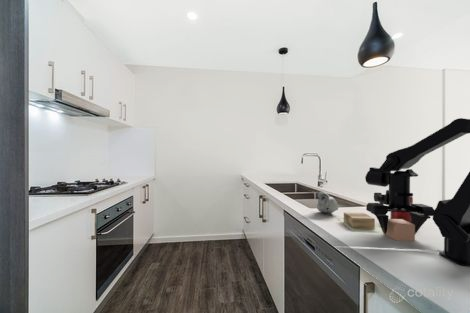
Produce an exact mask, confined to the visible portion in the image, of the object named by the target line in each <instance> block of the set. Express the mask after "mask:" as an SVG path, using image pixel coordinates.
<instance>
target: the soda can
mask: <svg viewBox="0 0 470 313" xmlns="http://www.w3.org/2000/svg"><path fill="white" fill-rule="evenodd" d="M413 199H414V198H413V196H410V205H411V204H414V200H413ZM393 209H394V208H393ZM389 215H390V218H389V219H403V220H405V221H407V222H410V223H411V216H410V214H409V212H391V211H390V214H389Z"/></svg>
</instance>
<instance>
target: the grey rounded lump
mask: <svg viewBox="0 0 470 313" xmlns="http://www.w3.org/2000/svg"><path fill="white" fill-rule="evenodd" d="M317 198H318V200H317V202H318V203H317V204H316V209H317V211H318V212H320V213H323V214H329V215H330V214H333V213H334V212H336V211H338V210H339V206H338V201H337V200H336V199H335V198H334V197H333V196H330V195H329V194H328V193H327V192H325V191H324V190H323V191H319V193H318V194H317Z"/></svg>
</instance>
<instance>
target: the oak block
mask: <svg viewBox="0 0 470 313" xmlns="http://www.w3.org/2000/svg"><path fill="white" fill-rule="evenodd" d="M343 218H344V222H345V223H346V224H347V225H349V226H350V227H351V228H355V229H375V225H376V224H375V223H376V222H375V221H376V219H375V217H372V216H370V215H368V214H367V213H365V212H351V211H350V212H349V211H347V212H345V211H344V212H343Z"/></svg>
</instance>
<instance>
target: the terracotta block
mask: <svg viewBox="0 0 470 313" xmlns="http://www.w3.org/2000/svg"><path fill="white" fill-rule="evenodd" d="M385 235H386V236H388V237H389V238H391V239H392V240H394V241H404V242H405V241H406V242H407V241H408V242H416V240H415V239H416V234H415V225H414V224H412V223H410V222H407V221H405V220H403V219H390V218H388V226H387V232H386V234H385Z"/></svg>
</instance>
